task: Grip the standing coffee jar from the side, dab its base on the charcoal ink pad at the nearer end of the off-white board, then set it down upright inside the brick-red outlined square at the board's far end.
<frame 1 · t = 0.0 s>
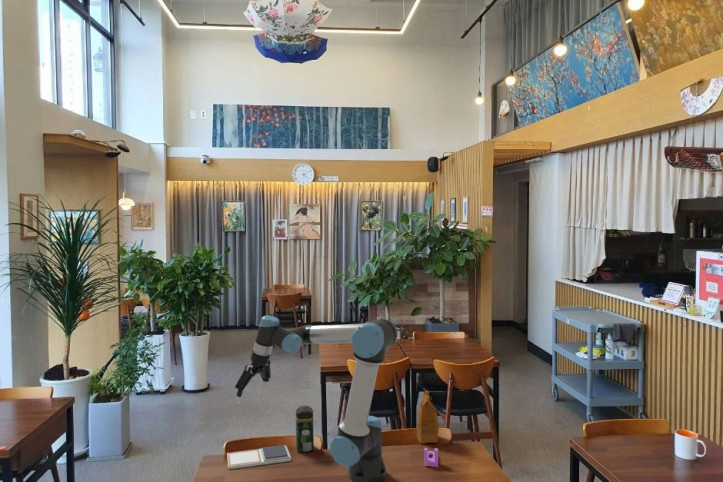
hand: (248, 398, 212), 28 cm above the table, tool tilted 20°, fingers open, 13 cm apart
ink pad: (274, 456, 220), resting on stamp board
bracket: (431, 461, 215), on the table
coffee package: (427, 440, 237), on the table
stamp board: (258, 458, 218), on the table
coffee jar: (304, 449, 228), on the table
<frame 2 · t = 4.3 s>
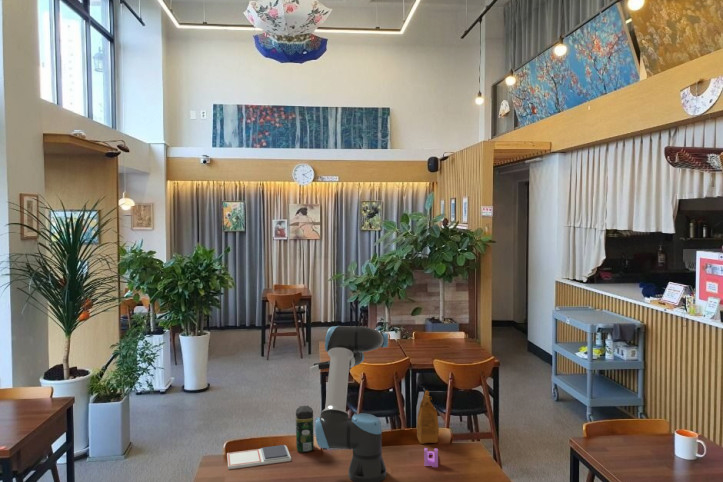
hand: (322, 372, 241), 31 cm above the table, tool horizontal, fingers open, 13 cm apart
nothing on the table moved.
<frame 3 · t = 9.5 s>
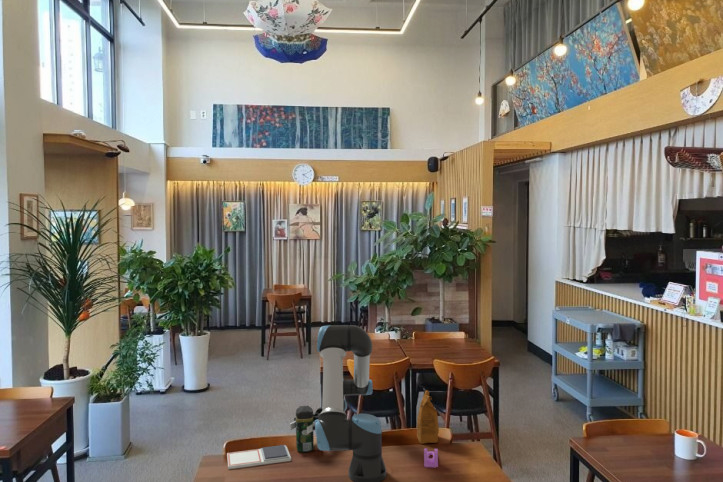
hand: (298, 428, 224), 11 cm above the table, tool horizontal, fingers closed on coffee jar, 9 cm apart
coffee jar: (304, 449, 228), on the table, touching gripper
everything else where it was.
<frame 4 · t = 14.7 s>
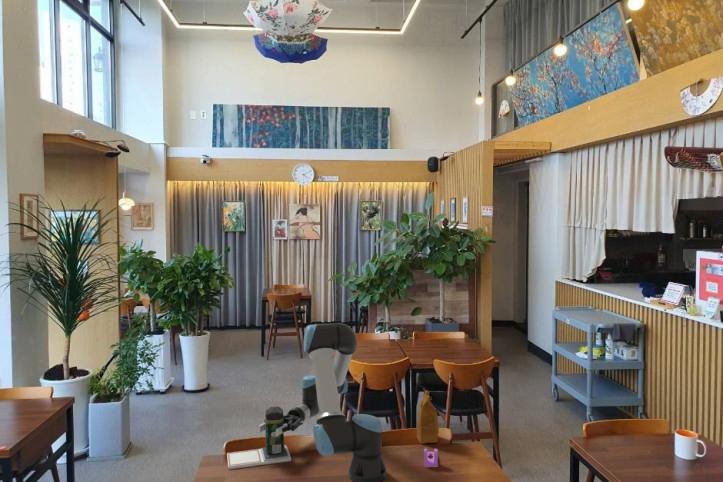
hand: (267, 430, 216), 13 cm above the table, tool horizontal, fingers closed on coffee jar, 9 cm apart
coffee jar: (274, 451, 220), point 2 cm above the table, touching gripper, ink pad
everything else where it was.
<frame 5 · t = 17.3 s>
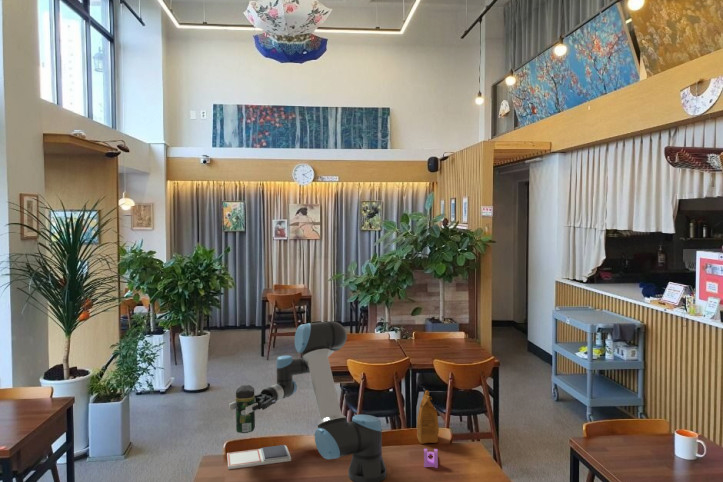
hand: (237, 409, 213), 23 cm above the table, tool horizontal, fingers closed on coffee jar, 9 cm apart
coffee jar: (245, 430, 217), point 13 cm above the table, touching gripper
everything else where it was.
when the fingers open (13 cm above the table, at t = 19.8 s): coffee jar drops 1 cm, resting on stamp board.
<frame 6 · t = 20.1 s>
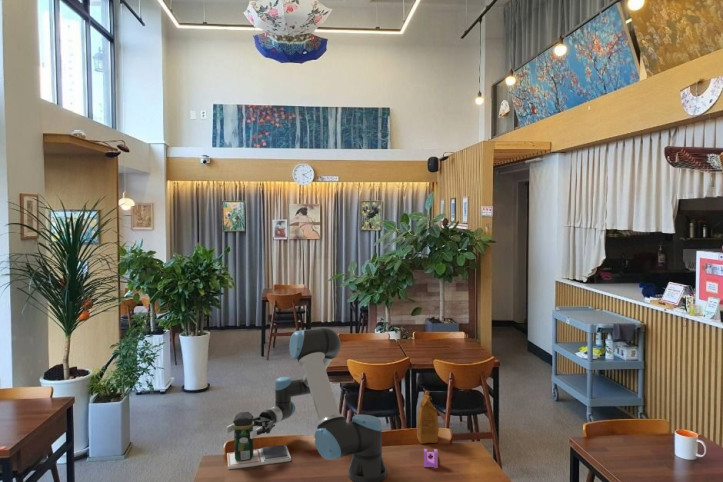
hand: (238, 432, 214), 13 cm above the table, tool horizontal, fingers open, 13 cm apart
coffee jar: (243, 457, 217), point 1 cm above the table, touching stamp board
everything else where it was.
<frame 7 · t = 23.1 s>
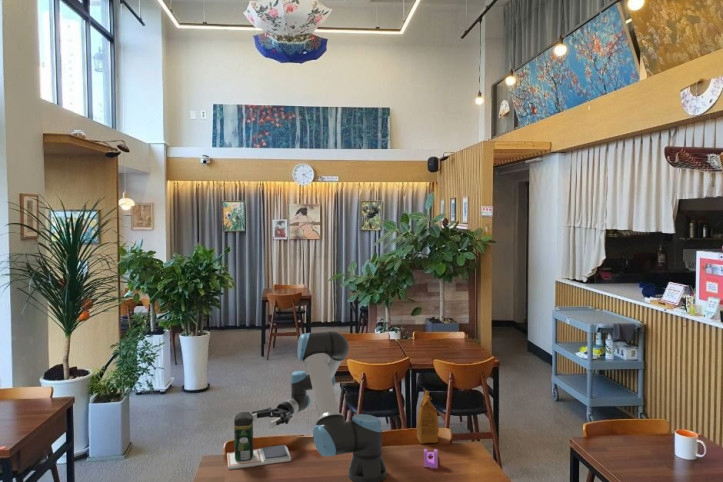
hand: (258, 423, 225), 13 cm above the table, tool horizontal, fingers open, 13 cm apart
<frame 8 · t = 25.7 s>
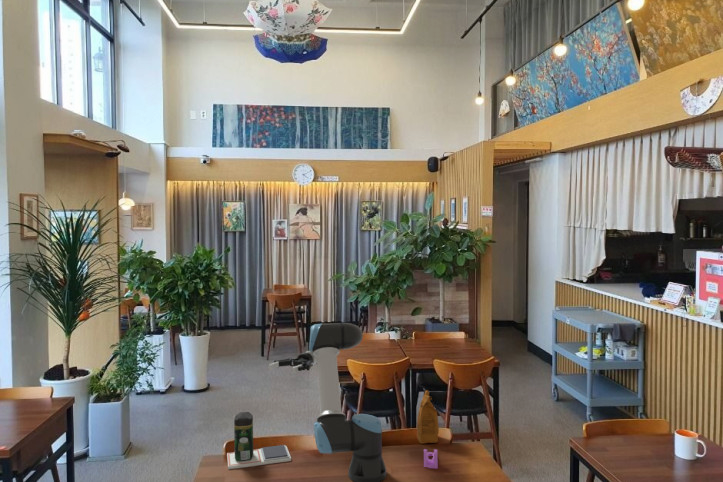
hand: (281, 369, 233), 35 cm above the table, tool horizontal, fingers open, 13 cm apart
at the end: coffee jar inside the target area (0.3 cm from its centre), point 1.0 cm above the table; coffee jar tilted 0°; the gripper is holding nothing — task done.
